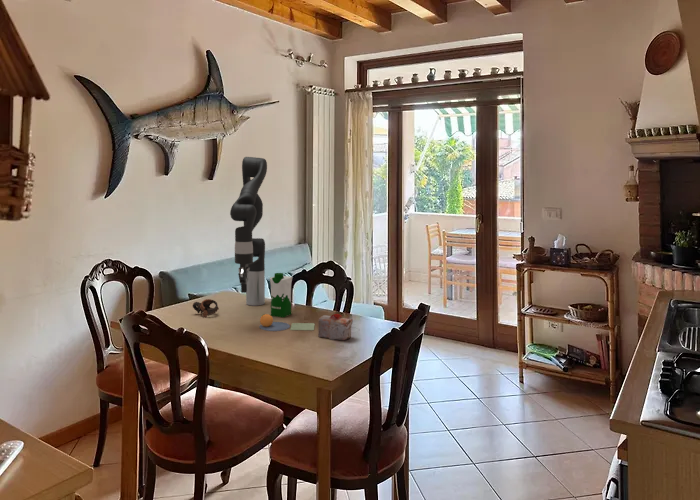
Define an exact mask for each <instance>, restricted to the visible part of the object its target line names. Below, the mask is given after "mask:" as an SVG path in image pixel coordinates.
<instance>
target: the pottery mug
mask: <svg viewBox="0 0 700 500" xmlns="http://www.w3.org/2000/svg"><path fill="white" fill-rule="evenodd" d="M212 304H214V305H215V307H211V305H212ZM192 308H193V309H194V311H196V312H197V314H199V313H200V314H202V317H203V318H207V317H208V316H211V315H213V314H216V313H217V312H218V310H219V306H218V302H217V301H216V300H215V299H210V298H209V299H208V298H207V299H204V300H202V301H201V302H199V301H194V302H193V304H192Z"/></svg>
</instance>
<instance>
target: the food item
mask: <svg viewBox="0 0 700 500" xmlns="http://www.w3.org/2000/svg"><path fill="white" fill-rule="evenodd" d="M352 324H353V319H352V318H346V317H343V316H342V315H341V314H339V313H333V314H332V315H325V314H324V315H322V316H320V317H319V318H318V328H317V329H318V332H317V335H318V338H319V337H320V338H324V339H329V340H332V341H333V340H338V341H345V340H348V339H350V338H351V337H352V326H353V325H352Z"/></svg>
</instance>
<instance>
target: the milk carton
mask: <svg viewBox="0 0 700 500" xmlns="http://www.w3.org/2000/svg"><path fill="white" fill-rule="evenodd" d="M269 281H270V315H271V316H272V317H277V318H283V319H284V318H286V317H288V316H291V315H292V281H293V276H287V275H284V273H283V272H276V273H274V275H273V276H271V277H270V278H269Z"/></svg>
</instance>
